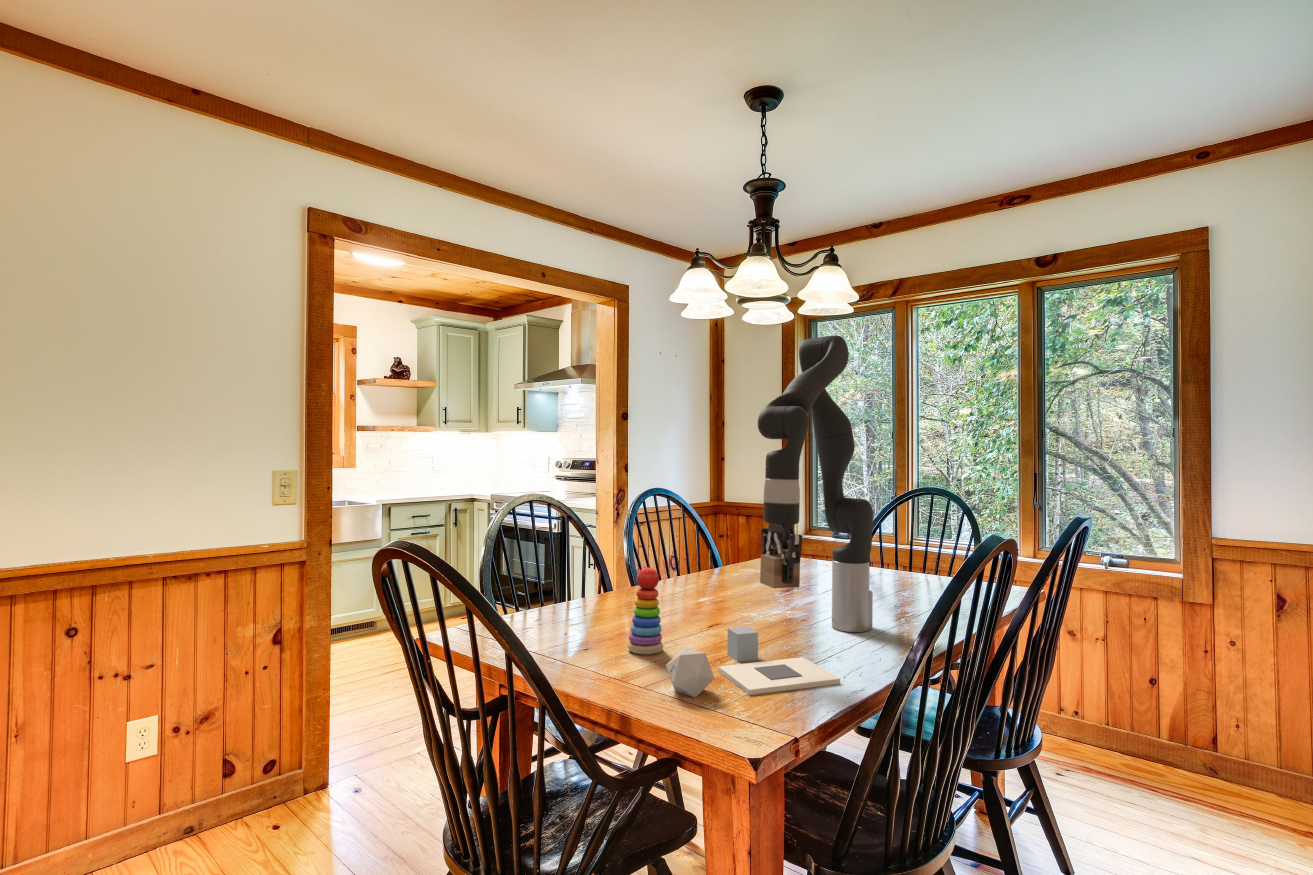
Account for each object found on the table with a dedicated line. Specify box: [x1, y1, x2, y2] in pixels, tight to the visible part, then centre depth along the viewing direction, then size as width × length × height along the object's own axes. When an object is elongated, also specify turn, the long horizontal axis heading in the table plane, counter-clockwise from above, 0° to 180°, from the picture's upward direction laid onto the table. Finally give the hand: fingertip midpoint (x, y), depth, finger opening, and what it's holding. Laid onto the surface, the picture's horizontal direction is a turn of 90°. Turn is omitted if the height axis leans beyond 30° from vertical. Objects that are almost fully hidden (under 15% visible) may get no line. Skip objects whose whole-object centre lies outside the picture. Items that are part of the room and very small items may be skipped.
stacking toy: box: [627, 567, 664, 656], centre depth 157 cm, size 8×8×19 cm
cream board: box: [717, 657, 841, 696], centre depth 140 cm, size 20×14×1 cm
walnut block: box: [759, 554, 801, 589], centre depth 145 cm, size 6×6×6 cm
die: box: [665, 647, 715, 698], centre depth 131 cm, size 8×9×10 cm
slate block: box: [727, 626, 759, 663], centre depth 153 cm, size 5×5×6 cm
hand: (779, 580), depth 145 cm, fingers closed on walnut block, 6 cm apart
